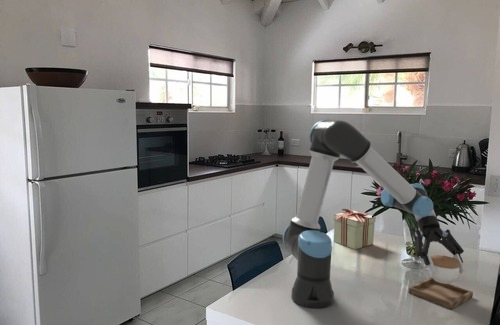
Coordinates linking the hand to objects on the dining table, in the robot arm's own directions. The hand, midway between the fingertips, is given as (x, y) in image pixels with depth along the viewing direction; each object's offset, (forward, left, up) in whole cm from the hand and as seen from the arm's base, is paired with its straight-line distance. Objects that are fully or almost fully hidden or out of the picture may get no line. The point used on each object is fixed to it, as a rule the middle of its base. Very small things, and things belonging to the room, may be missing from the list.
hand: (448, 272), depth 145 cm
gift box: (+22, +59, -10) cm, 63 cm away
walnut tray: (+1, +3, -10) cm, 10 cm away
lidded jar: (+2, +2, -4) cm, 5 cm away
